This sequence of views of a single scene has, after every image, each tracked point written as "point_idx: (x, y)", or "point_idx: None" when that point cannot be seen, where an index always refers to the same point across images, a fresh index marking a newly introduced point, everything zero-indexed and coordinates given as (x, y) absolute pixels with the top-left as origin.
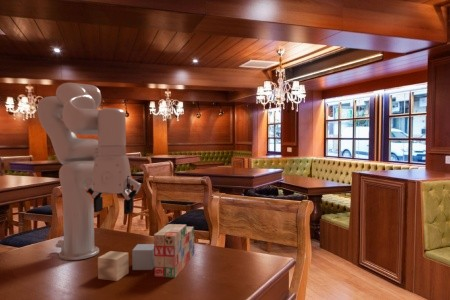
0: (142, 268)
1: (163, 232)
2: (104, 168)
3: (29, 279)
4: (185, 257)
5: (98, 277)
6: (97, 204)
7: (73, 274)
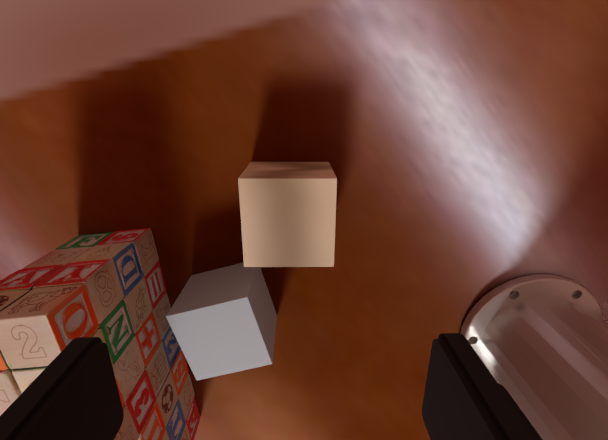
0: (223, 269)
1: (26, 361)
2: None
3: (581, 87)
4: None
5: (327, 162)
6: (467, 418)
7: (440, 171)
